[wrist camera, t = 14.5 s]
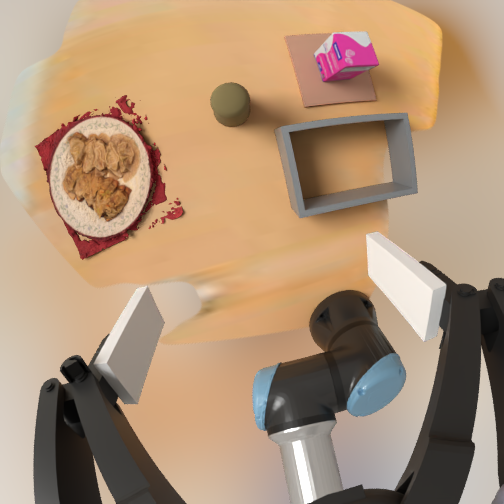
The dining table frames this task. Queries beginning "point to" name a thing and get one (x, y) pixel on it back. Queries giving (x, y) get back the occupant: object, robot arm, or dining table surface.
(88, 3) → the dining table surface
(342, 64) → the supplement box
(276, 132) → the rectangular frame
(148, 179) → the plate with food
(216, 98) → the cork
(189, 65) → the dining table surface
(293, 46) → the mat
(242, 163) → the dining table surface
